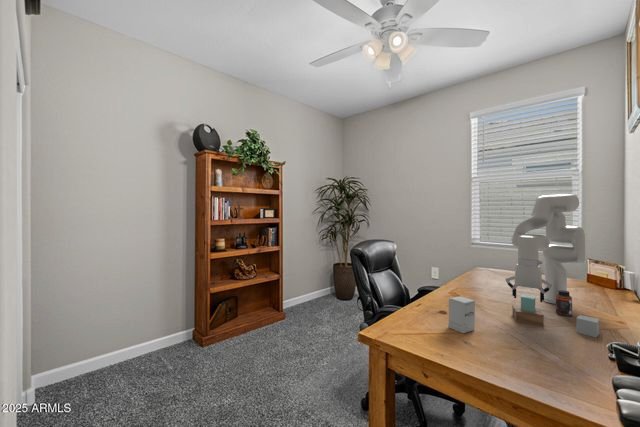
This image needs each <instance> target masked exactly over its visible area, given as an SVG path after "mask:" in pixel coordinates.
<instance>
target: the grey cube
mask: <svg viewBox="0 0 640 427" xmlns="http://www.w3.org/2000/svg"><path fill="white" fill-rule="evenodd" d="M575 328H576V330H575V331H576V333H578V334H581V335H584V336H585V335H586V336H590V337H594V338H598V336H599V335H600V318H596V317H591V316H587V315H586V316H585V315H583V314H579V315H577V317H576V327H575Z"/></svg>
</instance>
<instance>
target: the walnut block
mask: <svg viewBox="0 0 640 427" xmlns="http://www.w3.org/2000/svg"><path fill="white" fill-rule="evenodd" d="M511 308H512V310H511V311H512V312H511V314H512V317H513V319H514V320H515V322H516V323H522V324H529V325H537V326H542V327H543V326H545V324H544V323H545V315H544V313H543V312H542V311H541V310H540V309H539V308H538V307H535V312H529V311H524V310H521V305H516V304H512V307H511Z"/></svg>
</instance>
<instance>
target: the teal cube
mask: <svg viewBox="0 0 640 427" xmlns="http://www.w3.org/2000/svg"><path fill="white" fill-rule="evenodd" d="M520 306H521V310H524V311H529V312H535V308H536V296H534V295H527V294H521V296H520Z"/></svg>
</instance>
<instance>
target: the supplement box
mask: <svg viewBox="0 0 640 427" xmlns="http://www.w3.org/2000/svg"><path fill="white" fill-rule="evenodd" d="M475 306H476V300H473V299H470V298H467V297H464V296H455V297H450V298H448V328H449V329H452V330H453V331H457V332H459V333H461V334H465V333H469V332H472V331H475V328H476V327H475V326H476V324H475V321H476V320H475V319H476V318H475V317H476V315H475V314H476V313H475V312H476V311H475V310H476V308H475Z"/></svg>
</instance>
